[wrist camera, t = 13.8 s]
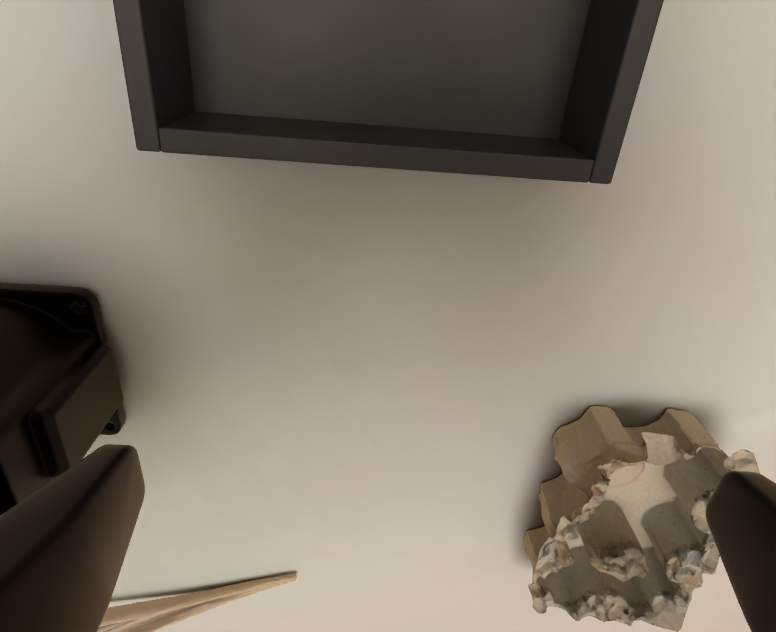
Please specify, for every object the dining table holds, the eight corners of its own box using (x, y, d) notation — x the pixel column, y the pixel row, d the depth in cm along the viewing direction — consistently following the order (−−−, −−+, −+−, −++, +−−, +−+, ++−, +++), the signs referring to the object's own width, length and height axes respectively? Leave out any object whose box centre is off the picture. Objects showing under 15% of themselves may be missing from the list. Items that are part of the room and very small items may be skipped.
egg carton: (562, 394, 21) (600, 467, 17) (732, 408, 22) (804, 481, 18) (504, 559, 26) (525, 642, 22) (644, 567, 27) (686, 649, 23)
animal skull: (30, 654, 29) (10, 693, 28) (-23, 608, 27) (-48, 646, 26) (313, 578, 28) (311, 613, 27) (281, 523, 26) (277, 557, 24)
